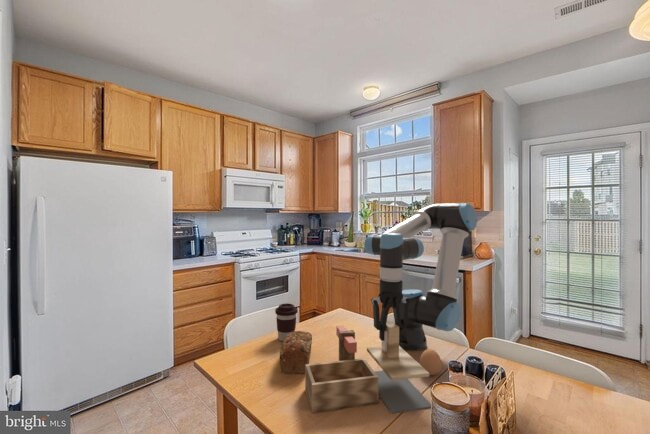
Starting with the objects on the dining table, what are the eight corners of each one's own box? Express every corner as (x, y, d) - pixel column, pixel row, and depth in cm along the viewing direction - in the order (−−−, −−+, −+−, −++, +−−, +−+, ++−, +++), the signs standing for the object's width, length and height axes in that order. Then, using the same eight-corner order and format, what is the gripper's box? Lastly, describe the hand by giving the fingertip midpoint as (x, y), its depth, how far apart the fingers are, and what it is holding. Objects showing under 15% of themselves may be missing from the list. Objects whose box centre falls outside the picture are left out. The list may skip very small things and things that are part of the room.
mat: (398, 369, 110) (398, 368, 110) (432, 407, 88) (432, 406, 88) (364, 373, 107) (364, 372, 107) (391, 413, 86) (391, 412, 86)
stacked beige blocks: (429, 376, 89) (429, 339, 89) (391, 380, 87) (392, 342, 86) (398, 347, 109) (398, 317, 109) (366, 350, 106) (367, 319, 106)
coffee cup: (301, 337, 138) (301, 304, 138) (287, 345, 130) (288, 310, 130) (284, 332, 144) (285, 301, 143) (270, 339, 135) (270, 306, 135)
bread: (308, 375, 106) (308, 347, 105) (277, 375, 106) (278, 346, 106) (312, 351, 124) (312, 327, 124) (286, 351, 125) (287, 326, 125)
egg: (425, 366, 113) (426, 343, 112) (445, 374, 107) (445, 350, 107) (415, 373, 107) (416, 349, 107) (435, 381, 102) (436, 356, 102)
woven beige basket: (354, 367, 111) (355, 329, 111) (378, 403, 90) (378, 357, 90) (300, 373, 106) (301, 334, 106) (312, 413, 85) (312, 363, 85)
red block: (343, 334, 118) (343, 325, 118) (356, 352, 103) (356, 342, 103) (336, 334, 118) (336, 325, 118) (348, 353, 102) (348, 342, 102)
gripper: (408, 276, 107) (407, 342, 107) (363, 277, 103) (362, 346, 103) (419, 280, 100) (418, 351, 100) (372, 282, 96) (371, 356, 96)
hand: (390, 348), depth 101 cm, fingers closed on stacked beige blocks, 3 cm apart
